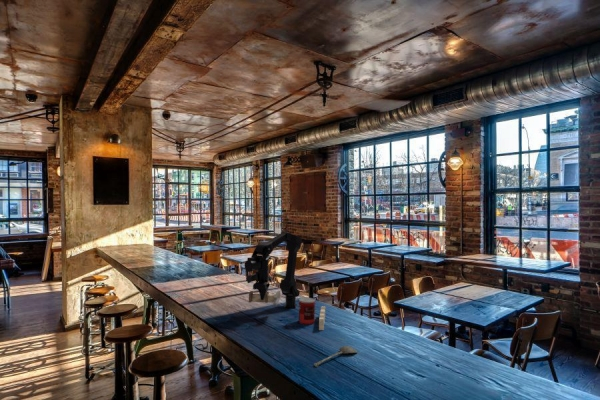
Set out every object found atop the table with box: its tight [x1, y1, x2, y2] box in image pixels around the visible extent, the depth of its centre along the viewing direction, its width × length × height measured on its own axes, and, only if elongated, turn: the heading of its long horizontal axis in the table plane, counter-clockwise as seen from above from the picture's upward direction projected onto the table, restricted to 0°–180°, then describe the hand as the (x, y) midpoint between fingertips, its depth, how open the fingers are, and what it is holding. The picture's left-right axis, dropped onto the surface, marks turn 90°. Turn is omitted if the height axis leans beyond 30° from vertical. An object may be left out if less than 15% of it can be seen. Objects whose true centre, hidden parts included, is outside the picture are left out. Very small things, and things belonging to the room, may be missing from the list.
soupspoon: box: [313, 345, 358, 367], centre depth 134 cm, size 22×3×7 cm
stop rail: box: [318, 305, 326, 331], centre depth 172 cm, size 20×2×5 cm, turn 174°
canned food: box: [298, 297, 316, 326], centre depth 173 cm, size 8×8×11 cm
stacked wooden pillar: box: [248, 290, 281, 306], centre depth 181 cm, size 15×12×4 cm
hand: (262, 299), depth 181 cm, fingers closed on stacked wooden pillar, 2 cm apart
